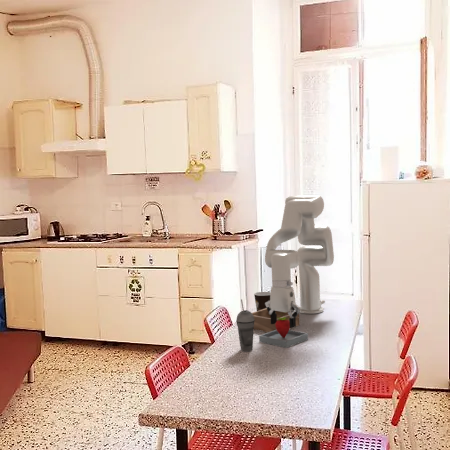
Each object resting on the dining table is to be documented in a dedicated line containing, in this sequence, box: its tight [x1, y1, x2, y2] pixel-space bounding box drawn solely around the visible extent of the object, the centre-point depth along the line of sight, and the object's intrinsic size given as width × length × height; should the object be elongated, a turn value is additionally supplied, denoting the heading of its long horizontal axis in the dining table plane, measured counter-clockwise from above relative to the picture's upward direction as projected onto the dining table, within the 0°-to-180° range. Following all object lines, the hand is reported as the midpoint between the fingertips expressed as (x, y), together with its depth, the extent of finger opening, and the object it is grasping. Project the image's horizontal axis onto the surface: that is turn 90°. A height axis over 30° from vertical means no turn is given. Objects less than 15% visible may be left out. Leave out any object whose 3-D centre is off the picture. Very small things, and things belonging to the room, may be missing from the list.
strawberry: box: [275, 316, 291, 338], centre depth 241 cm, size 6×8×10 cm
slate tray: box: [258, 329, 309, 349], centre depth 241 cm, size 14×14×2 cm
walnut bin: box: [251, 308, 301, 333], centre depth 263 cm, size 17×17×6 cm
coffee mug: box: [253, 291, 271, 311], centre depth 287 cm, size 12×9×10 cm
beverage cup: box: [235, 298, 255, 353], centre depth 230 cm, size 7×7×20 cm
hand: (283, 325), depth 240 cm, fingers open, 9 cm apart
